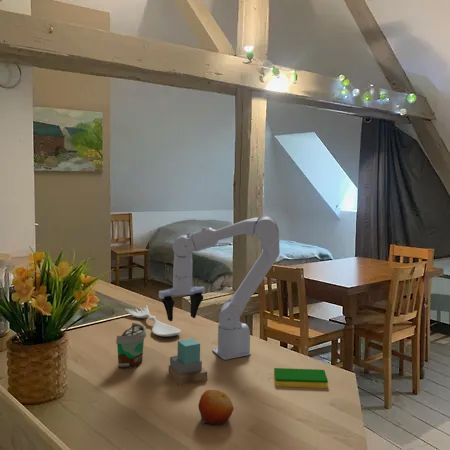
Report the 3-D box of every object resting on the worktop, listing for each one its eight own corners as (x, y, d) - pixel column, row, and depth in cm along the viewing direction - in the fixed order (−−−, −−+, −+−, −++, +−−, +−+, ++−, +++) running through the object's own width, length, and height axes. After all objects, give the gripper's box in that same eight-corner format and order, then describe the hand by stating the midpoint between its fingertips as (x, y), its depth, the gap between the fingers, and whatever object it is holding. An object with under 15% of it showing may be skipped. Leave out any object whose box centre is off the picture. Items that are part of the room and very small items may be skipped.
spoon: (146, 312, 197) (146, 303, 197) (186, 338, 171) (186, 328, 170) (123, 315, 192) (123, 306, 192) (161, 343, 166) (161, 333, 165)
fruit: (189, 406, 122) (207, 378, 121) (218, 422, 123) (236, 394, 122) (190, 424, 114) (209, 394, 113) (220, 440, 115) (239, 411, 114)
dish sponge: (327, 389, 136) (328, 380, 135) (275, 387, 136) (275, 378, 136) (323, 377, 143) (324, 369, 142) (273, 375, 143) (274, 367, 143)
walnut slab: (194, 370, 146) (195, 360, 146) (207, 382, 139) (207, 371, 139) (168, 376, 142) (168, 365, 142) (179, 388, 135) (179, 377, 135)
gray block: (191, 361, 145) (191, 352, 145) (201, 370, 140) (201, 361, 139) (170, 365, 142) (170, 357, 142) (179, 374, 136) (179, 365, 136)
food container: (137, 373, 143) (137, 338, 141) (116, 370, 144) (116, 336, 142) (152, 355, 155) (152, 323, 153) (132, 354, 156) (132, 322, 154)
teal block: (192, 355, 143) (192, 338, 142) (199, 361, 139) (200, 343, 139) (177, 358, 141) (177, 340, 140) (184, 364, 137) (185, 346, 136)
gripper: (198, 270, 162) (197, 312, 164) (155, 274, 155) (154, 317, 157) (208, 275, 156) (207, 318, 158) (164, 279, 149) (163, 324, 151)
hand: (181, 318), depth 157 cm, fingers open, 7 cm apart
